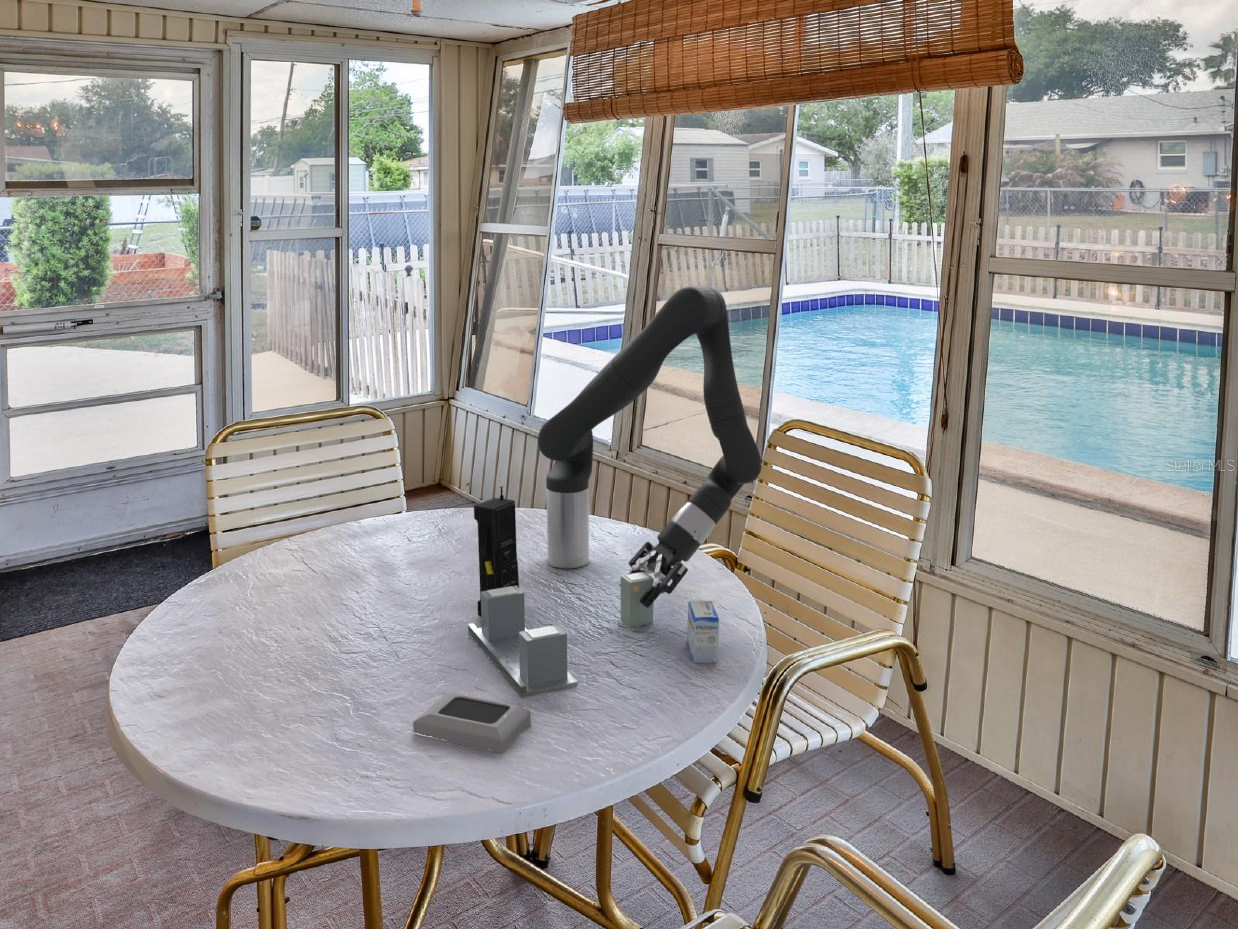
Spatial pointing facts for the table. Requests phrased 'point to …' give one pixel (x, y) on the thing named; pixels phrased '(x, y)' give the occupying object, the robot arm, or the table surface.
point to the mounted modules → (525, 635)
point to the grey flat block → (473, 721)
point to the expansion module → (635, 599)
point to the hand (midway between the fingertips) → (633, 597)
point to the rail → (514, 664)
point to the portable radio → (496, 544)
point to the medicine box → (703, 632)
